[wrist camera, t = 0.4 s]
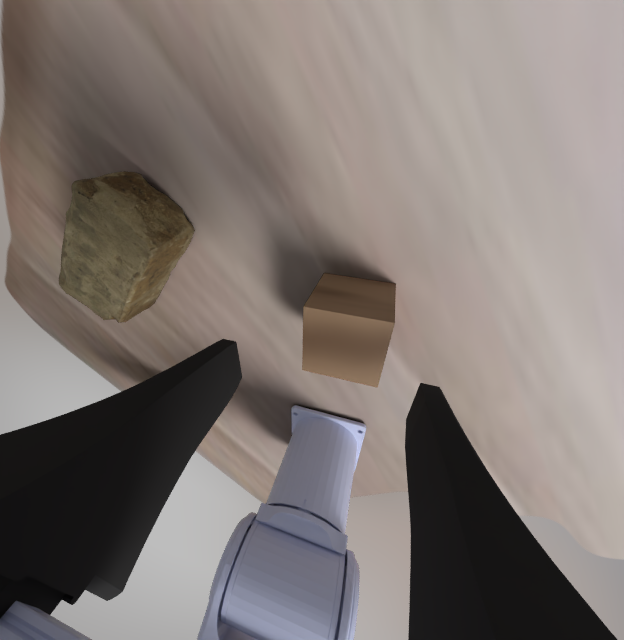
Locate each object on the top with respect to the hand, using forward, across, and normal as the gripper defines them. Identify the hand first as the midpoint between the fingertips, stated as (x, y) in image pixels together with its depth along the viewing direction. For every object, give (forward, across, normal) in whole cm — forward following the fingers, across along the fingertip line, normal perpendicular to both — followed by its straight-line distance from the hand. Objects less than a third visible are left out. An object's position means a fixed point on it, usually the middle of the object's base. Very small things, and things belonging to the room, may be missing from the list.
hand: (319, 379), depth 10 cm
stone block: (+10, +18, 0) cm, 20 cm away
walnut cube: (+10, 0, +2) cm, 10 cm away
